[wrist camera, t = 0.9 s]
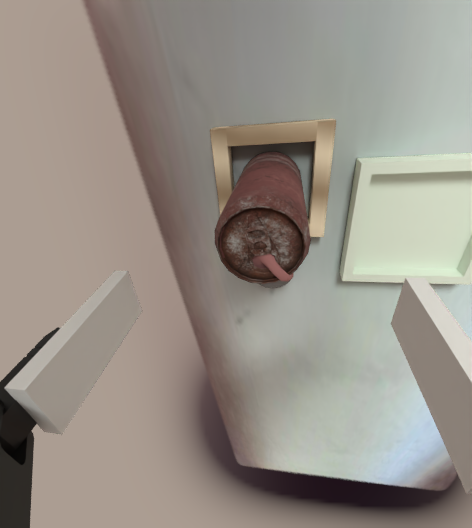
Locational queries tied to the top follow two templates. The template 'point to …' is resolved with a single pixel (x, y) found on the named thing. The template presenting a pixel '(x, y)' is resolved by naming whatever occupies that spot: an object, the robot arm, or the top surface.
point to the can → (265, 221)
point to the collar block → (273, 134)
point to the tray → (410, 220)
